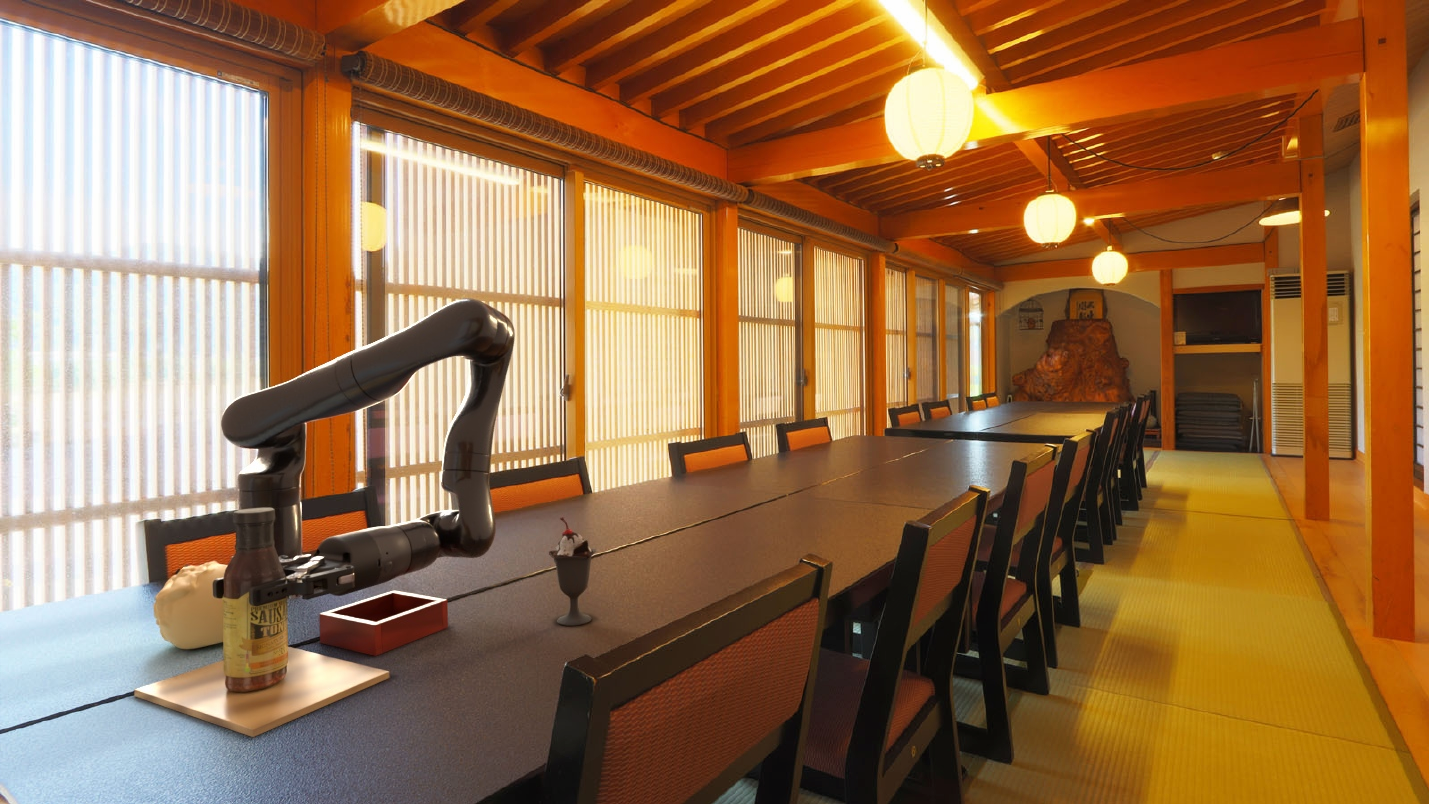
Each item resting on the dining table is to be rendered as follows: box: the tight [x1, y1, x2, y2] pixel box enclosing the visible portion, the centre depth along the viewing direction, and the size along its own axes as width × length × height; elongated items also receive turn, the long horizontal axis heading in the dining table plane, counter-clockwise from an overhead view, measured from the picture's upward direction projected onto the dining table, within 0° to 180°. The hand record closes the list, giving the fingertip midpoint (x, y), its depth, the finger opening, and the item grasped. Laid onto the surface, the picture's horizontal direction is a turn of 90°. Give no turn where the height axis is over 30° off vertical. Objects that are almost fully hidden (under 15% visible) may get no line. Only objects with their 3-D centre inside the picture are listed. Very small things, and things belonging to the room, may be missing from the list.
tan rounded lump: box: [152, 560, 228, 650], centre depth 100 cm, size 11×12×11 cm
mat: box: [133, 646, 390, 738], centre depth 85 cm, size 22×16×1 cm
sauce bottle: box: [222, 508, 289, 692], centre depth 84 cm, size 7×6×20 cm
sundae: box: [548, 516, 597, 627], centre depth 107 cm, size 7×7×15 cm
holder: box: [318, 590, 449, 657], centre depth 102 cm, size 11×12×4 cm
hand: (233, 593), depth 82 cm, fingers closed on sauce bottle, 6 cm apart
